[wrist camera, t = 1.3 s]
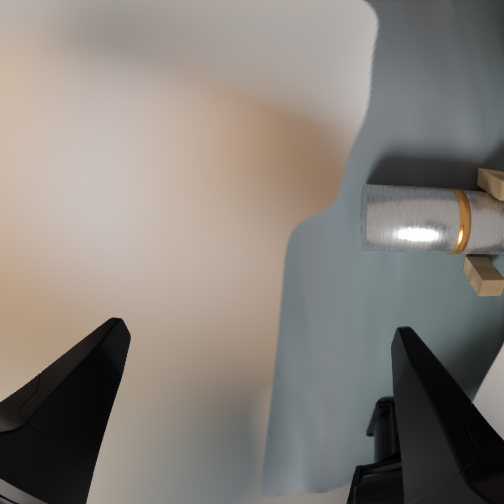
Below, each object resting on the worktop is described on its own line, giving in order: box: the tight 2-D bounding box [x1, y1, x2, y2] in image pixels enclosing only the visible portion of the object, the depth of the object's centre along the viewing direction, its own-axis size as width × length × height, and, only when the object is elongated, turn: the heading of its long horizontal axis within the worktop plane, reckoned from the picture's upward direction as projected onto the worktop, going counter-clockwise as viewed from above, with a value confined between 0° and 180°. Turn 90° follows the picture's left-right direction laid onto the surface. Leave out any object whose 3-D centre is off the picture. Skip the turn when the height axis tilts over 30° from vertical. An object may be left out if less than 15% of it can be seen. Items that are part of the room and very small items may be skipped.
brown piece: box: [463, 168, 504, 296], centre depth 17 cm, size 8×2×4 cm, turn 5°
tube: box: [361, 184, 504, 255], centre depth 17 cm, size 12×4×4 cm, turn 95°
